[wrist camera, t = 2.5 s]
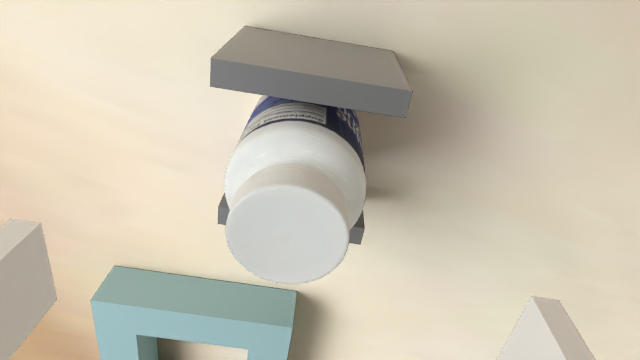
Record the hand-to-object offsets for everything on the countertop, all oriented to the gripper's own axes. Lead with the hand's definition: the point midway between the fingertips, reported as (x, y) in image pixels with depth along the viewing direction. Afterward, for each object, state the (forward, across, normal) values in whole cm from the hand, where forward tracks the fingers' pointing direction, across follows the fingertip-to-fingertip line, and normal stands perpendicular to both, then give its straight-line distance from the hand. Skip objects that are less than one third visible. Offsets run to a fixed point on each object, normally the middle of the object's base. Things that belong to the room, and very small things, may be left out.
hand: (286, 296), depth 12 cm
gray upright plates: (+12, 0, 0) cm, 12 cm away
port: (+12, -5, -18) cm, 22 cm away
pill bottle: (+12, 0, 0) cm, 12 cm away
